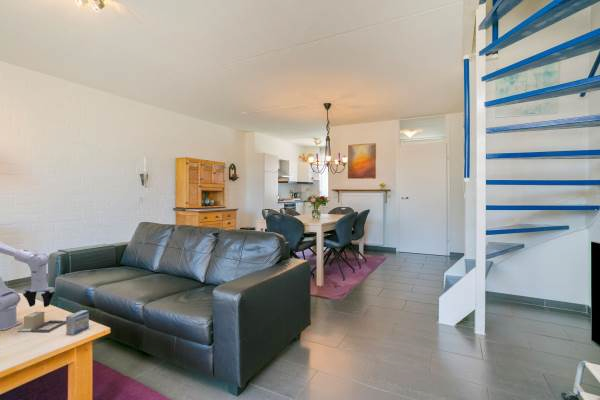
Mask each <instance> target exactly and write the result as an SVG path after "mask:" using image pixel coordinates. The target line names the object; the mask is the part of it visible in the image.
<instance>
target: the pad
mask: <svg viewBox="0 0 600 400" xmlns="http://www.w3.org/2000/svg"><path fill="white" fill-rule="evenodd" d="M46 322H47V321H45V323H46ZM17 332H18V333H32V332H31V329H24V327H23V328H21V329H19V330H17Z"/></svg>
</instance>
